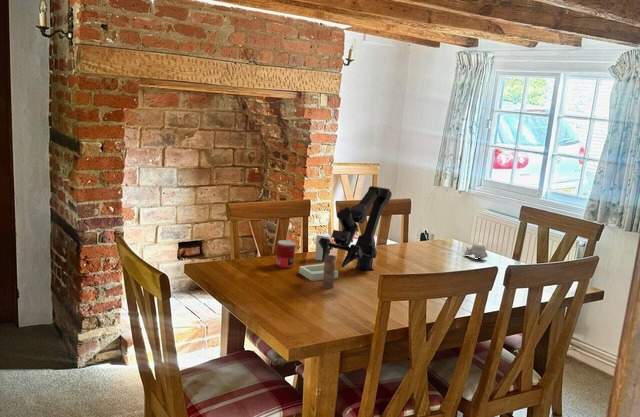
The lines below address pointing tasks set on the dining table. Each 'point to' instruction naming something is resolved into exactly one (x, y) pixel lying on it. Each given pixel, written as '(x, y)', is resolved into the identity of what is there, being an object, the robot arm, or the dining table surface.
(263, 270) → the dining table surface
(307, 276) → the tray
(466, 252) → the chubby cartoon animal
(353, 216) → the robot arm
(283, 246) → the canned food
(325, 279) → the brown round cylinder
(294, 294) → the dining table surface
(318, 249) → the skincare box
